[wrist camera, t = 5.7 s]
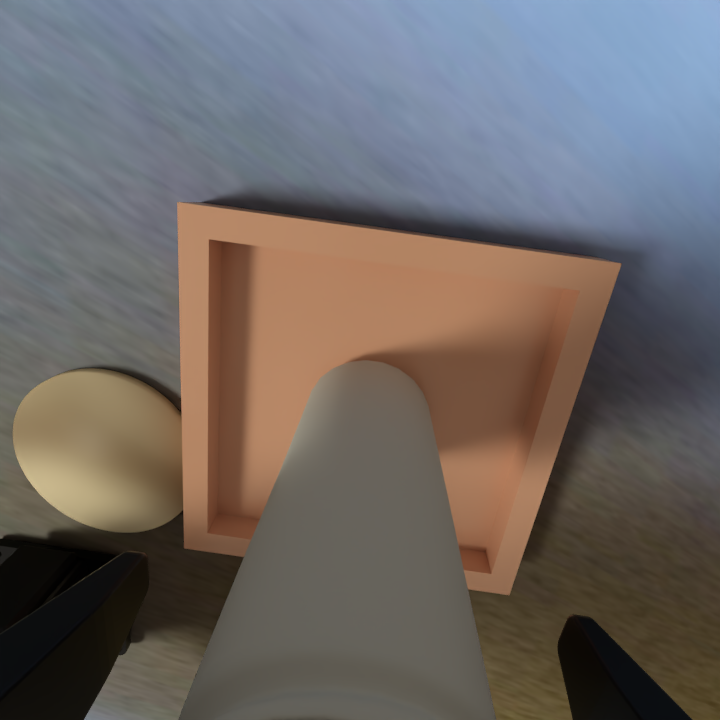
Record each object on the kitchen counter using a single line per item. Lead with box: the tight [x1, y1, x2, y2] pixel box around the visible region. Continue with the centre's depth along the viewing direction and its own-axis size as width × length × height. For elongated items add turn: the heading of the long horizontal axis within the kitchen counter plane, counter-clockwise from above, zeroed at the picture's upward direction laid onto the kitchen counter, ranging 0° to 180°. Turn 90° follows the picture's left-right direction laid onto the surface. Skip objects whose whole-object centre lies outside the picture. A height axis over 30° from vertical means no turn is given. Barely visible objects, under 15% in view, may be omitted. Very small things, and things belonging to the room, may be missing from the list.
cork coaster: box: [13, 368, 183, 533], centre depth 19 cm, size 8×8×1 cm
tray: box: [177, 202, 621, 595], centre depth 17 cm, size 14×14×2 cm
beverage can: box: [179, 360, 496, 720], centre depth 11 cm, size 5×5×12 cm
